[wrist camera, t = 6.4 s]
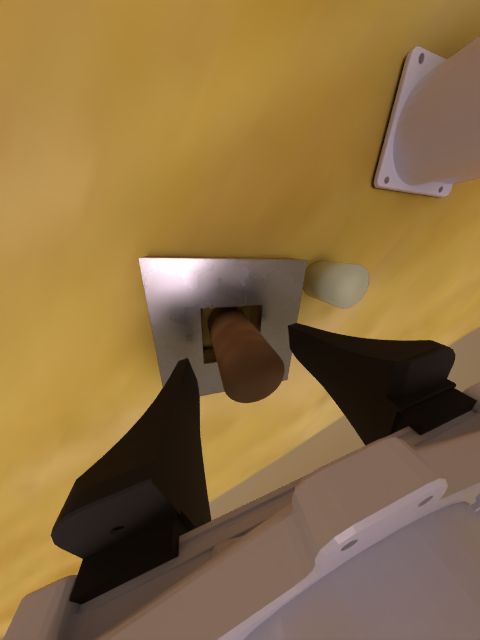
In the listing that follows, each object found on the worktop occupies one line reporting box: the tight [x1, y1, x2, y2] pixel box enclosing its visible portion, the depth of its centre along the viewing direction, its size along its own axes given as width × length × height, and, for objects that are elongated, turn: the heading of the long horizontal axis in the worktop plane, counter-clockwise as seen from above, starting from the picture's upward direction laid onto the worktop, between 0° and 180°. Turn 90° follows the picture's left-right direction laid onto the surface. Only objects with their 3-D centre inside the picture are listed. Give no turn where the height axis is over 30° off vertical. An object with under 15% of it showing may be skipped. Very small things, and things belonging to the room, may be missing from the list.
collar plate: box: [139, 256, 307, 396], centre depth 16 cm, size 12×12×2 cm
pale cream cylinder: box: [303, 261, 369, 309], centre depth 16 cm, size 4×4×4 cm
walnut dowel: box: [208, 306, 285, 403], centre depth 13 cm, size 4×4×8 cm
